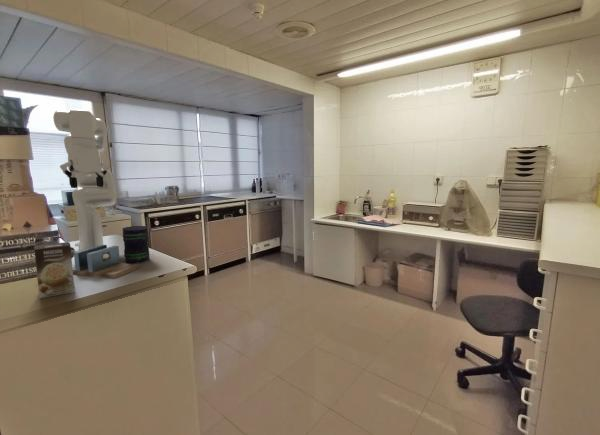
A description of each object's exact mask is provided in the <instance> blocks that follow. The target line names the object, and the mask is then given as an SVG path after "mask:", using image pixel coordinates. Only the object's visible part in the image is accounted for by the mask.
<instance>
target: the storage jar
mask: <svg viewBox="0 0 600 435" xmlns="http://www.w3.org/2000/svg"><path fill="white" fill-rule="evenodd" d="M122 238H123V239H122V241H123V244H124V250H123V253H124V255H123V257H124V264H135V265H138V264H142V262H143V263H146V262H148V261H149V260H150V248H149V232H148V227H147V226H146V225H132V226H126V227H123V228H122Z"/></svg>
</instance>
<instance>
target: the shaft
mask: <svg viewBox="0 0 600 435" xmlns="http://www.w3.org/2000/svg"><path fill="white" fill-rule="evenodd" d="M74 252H78V251H77V250H76V249H75V248H74V247H71V257H72V259H73V258H74ZM90 253H91V252H90ZM102 256H103V259H104V260H109V259H110V258H111V255H110V254H105V253H103V254H102Z"/></svg>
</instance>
